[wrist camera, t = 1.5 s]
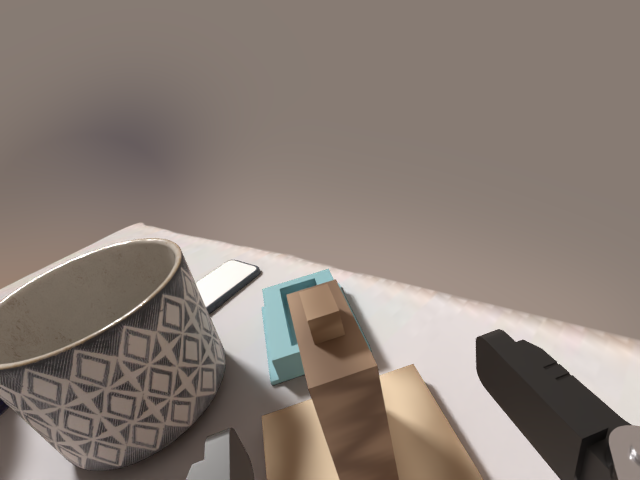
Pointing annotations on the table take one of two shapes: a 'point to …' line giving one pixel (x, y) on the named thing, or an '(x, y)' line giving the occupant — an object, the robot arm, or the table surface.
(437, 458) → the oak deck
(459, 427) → the table surface
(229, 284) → the phone case
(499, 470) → the table surface
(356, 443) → the brown wooden bottle
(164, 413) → the planter
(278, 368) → the teal rack
